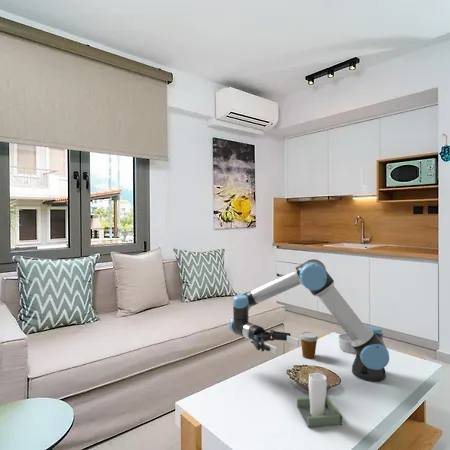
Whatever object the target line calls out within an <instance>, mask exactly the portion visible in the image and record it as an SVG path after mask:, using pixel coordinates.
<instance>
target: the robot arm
mask: <svg viewBox="0 0 450 450" xmlns="http://www.w3.org/2000/svg"><path fill="white" fill-rule="evenodd" d="M334 284H335V280H334V279H333V278H332V276H331V275H330V274H329V273H328V271H327V268H326V266H325V264H324V263H323V262H322V261H320V260H318V259H308V260H306V261H305V262H303V263H302V264H300V265H297V266H296V267H294V270H293V271H290V272H288V273H286V274H284V275H282V276H280V277H277V278H275V279H273V280H272V281H270V282H269V281H268V282H267V283H265V284H263V285H260V286H257V288H255V289H252V290H250V291H246V292H244V293H242V294H238V295H237V294H236V295H235V296H233V298H232V300H233V301H232V307H233V309H232V310H233V312H232V313H233V318H231V320H230V322H229V324H228V326H229V327H228V328H229V330H230V331H231V332H232V333H233V334H235V335H237V336H240V337H243V338H245V339H247V340H249V341H250V343H251V344H253V346H254V348H256V350H257V351H261V352H265V351H267V352H269V353H272V354H273V355H278V347H276V346H275V345H271V344H269V343H268V342H269V341H284V342H285V341H286V342H287V343H289V344H292V345H295V346H297V347H299V346H300V339H299V338H296V337H293V336H291V335H292V334H291V333H290V332H283V331H278V330H274V329H271V330H270V331H266V330H265V328H264V327H262V326H260V325H257V324H254V323H252V322H250V321H249V310H250V309H251V308H252V307H255V305H258V304H260V303H262V302H264V301H265V302H266V301H267V300H269V299H272V298H273V297H276V296H278V295H280V294H282V293H284V292H287V291H289V290H291V289H293V288H296V287H298V286H300V285H302V286H303V287H305V288H306V289H307V290H309V292H310V293H311V295H312V296H313V297H318V298H319V300H320V301H321V303H322V304H324V306H325V308H326V309H327V310H328V312H329V313H330V314H331V315H332V317H333V318H334V319H335V320H336V322H337V323H338V324H339V326H340V327H341V328H342V329H343V331H344V332H345V334H347V335H348V336H349V337H350V339H351V340H352V341H351V345H352V347H353V348H354V349H355V351H356V353H355V356H354V357H355V358H354V360H353V362H352V365H351V366H352V367H351V373H352V374H353V375H354V376H355V377H356V378H359V379H361V380H363V381H368V382H382V381H384V380H385V379H386V378H387V371H386V368H385V367H386V366H388V364H389V362H390V354H389V353H390V352H389V350H388V348H387V346H386V344H385V343H384V341H383V338H384V337H383V336H384V333H383V332H384V331H383V329H382V328H380V327H378V326H377V327H376V326H372V325H365V324H364V323H363V321H362V320H361V319H360V317H359V316H358V315H357V314H356V312H355V311H354V310H353V308H352V307H351V306H350V305H349V303H348V302H347V301H346V299H345V298H344V297H343V296H342V295H341V293H340V292H339V291H338V289H337V288H336V287H335V285H334Z"/></svg>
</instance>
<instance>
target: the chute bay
mask: <svg viewBox="0 0 450 450" xmlns="http://www.w3.org/2000/svg"><path fill="white" fill-rule="evenodd" d="M296 407H297V409H298V411H299V413H300V415H301V417H302V418H303V420H304V422H305V424H306V426H307V428H308V429H309V428H310V429H311V428H323V427H324V428H325V427H334V426H335V427H336V426H343V415H342V413H341V412H340V410H339V409H338V408H337V407H336V405H335V404H334V403H333V402H332V400H331V399H330V397H329V396H327V395H326V399H325V409H324V416H312V415H311V414H310V400H309V397H298V398H296Z"/></svg>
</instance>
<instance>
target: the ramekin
mask: <svg viewBox="0 0 450 450" xmlns="http://www.w3.org/2000/svg"><path fill="white" fill-rule="evenodd" d="M351 341H352V340H351V339H350V337H349V336H348V335H347V333H340V334H339V335H338V344H339V345H338V346H339V348H340V350H341V351H343V352H345V353H347V354H348V353H349V354H356V351H355V349H354V348H353V347H352V345H351Z"/></svg>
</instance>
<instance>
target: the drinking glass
mask: <svg viewBox="0 0 450 450" xmlns="http://www.w3.org/2000/svg"><path fill="white" fill-rule="evenodd" d="M327 381H328V380H327V376H326V375H325V374H322V373H321V372H311V373H309V375H308V398H309V400H310V414H311V415H312V416H324V409H325V399H326V396H327V388H328V387H327V386H328V384H327V383H328V382H327Z"/></svg>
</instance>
